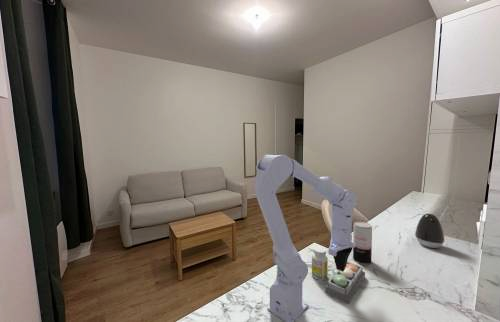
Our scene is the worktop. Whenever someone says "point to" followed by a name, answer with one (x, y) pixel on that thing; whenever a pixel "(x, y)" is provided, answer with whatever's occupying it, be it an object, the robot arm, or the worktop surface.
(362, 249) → the grey black container
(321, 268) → the supplement bottle
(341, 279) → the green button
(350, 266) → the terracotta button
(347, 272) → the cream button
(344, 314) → the worktop surface
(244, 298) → the worktop surface
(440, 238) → the dark egg shaped speaker
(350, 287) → the tray of pastel eggs
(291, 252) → the robot arm
